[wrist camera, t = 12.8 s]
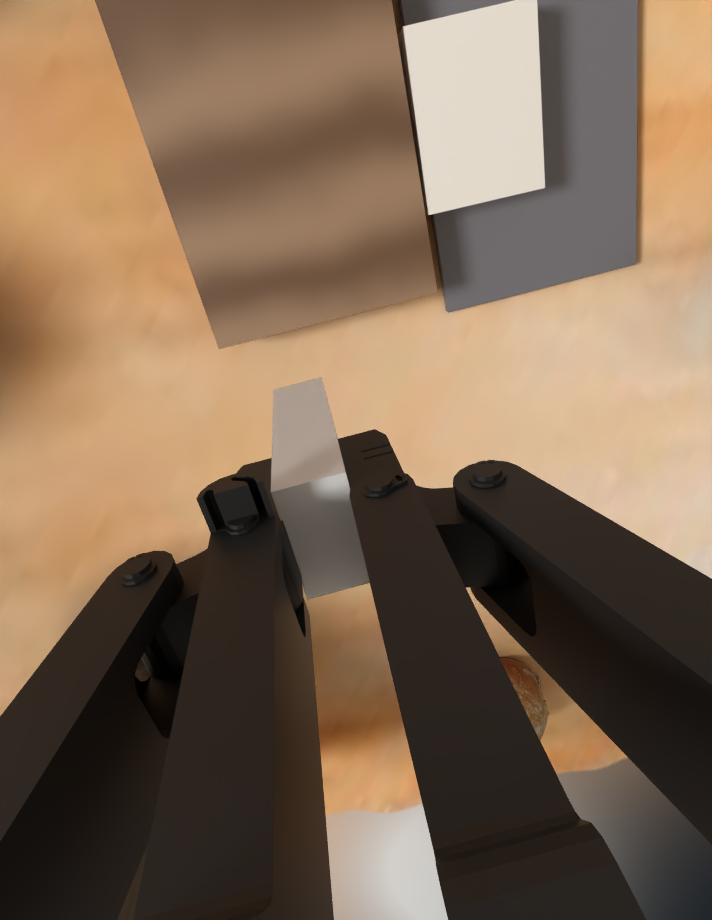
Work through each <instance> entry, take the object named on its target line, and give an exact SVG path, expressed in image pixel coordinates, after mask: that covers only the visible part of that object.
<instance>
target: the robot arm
mask: <svg viewBox="0 0 712 920" xmlns="http://www.w3.org/2000/svg"><path fill="white" fill-rule="evenodd" d="M196 499H197V501H198V503H199V506H200V508H201V511H202V513H203V515H204V518H205V520H206V523H207V525H208V527H209V530H210V532H211V535H210V540H209V545H208V549H206V550H205V551H203V552H201V553H199V554H197V555H196V556H194V557H191V558H189V559H187V560H185V561H183V562H180V563H178V564H176V563H175V561H174V558H173V556H172V554H170V553H168V552H166V551H152V552H148V553H142V554H139V555H136V557H132V558H130V559H128V560H127V561H126V562H125V563H123V564H122V565H120V566H119V567H117V568H116V569H115V570H114V571H113V572H112V573H111V574H110V575H109V576H108V577H107V578H106V580H105V581H104V582H103V584H102V585H101V586H100V588H99V589H98V590H97V591H96V593H95V594H94V595H93V597H92V598H91V599H90V601H89V602H88V603H87V605H86V606H85V607H84V608H83V610H82V611H81V612H80V614H79V615H78V616H77V618H76V619H75V620H74V621H73V623H72V624H71V625H70V627H69V628H68V629H67V631H66V632H65V633H64V634H63V636H62V637H61V638H60V640H59V641H58V642H57V644H56V645H55V646H54V647H53V649H52V650H51V651H50V653H49V654H48V655H47V657H46V658H45V659H44V660H43V662H42V663H41V664H40V666H39V667H38V668H37V670H36V671H35V672H34V674H33V675H32V676H31V677H30V679H29V680H28V681H27V683H26V684H25V685H24V687H23V688H22V689H21V690H20V692H19V693H18V694H17V696H16V697H15V698H14V700H13V701H12V702H11V703H10V705H9V706H8V707H7V709H6V710H5V711H4V713H3V714H2V715H1V716H0V920H334V917H333V904H332V892H331V879H330V867H329V854H328V842H327V831H326V830H327V829H326V817H325V804H324V792H323V779H322V767H321V754H320V742H319V729H318V717H317V704H316V692H315V679H314V667H313V654H312V642H311V629H310V617H309V612H308V610H307V607H306V604H305V601H304V598H303V589H302V585H303V588H304V590H305V593H306V596H307V599H311V598H315V597H318V596H322V595H326V594H329V593H333V592H337V591H341V590H344V589H348V588H352V587H355V586H359V585H363V584H367V583H370V585H371V589H372V594H373V598H374V602H375V606H376V610H377V615H378V619H379V623H380V627H381V631H382V635H383V640H384V644H385V648H386V652H387V656H388V661H389V665H390V669H391V673H392V677H393V682H394V686H395V690H396V694H397V698H398V703H399V707H400V711H401V715H402V719H403V723H404V728H405V732H406V736H407V740H408V744H409V749H410V753H411V757H412V761H413V765H414V770H415V774H416V778H417V782H418V786H419V791H420V795H421V799H422V803H423V807H424V811H425V816H426V820H427V823H428V828H429V832H430V837H431V841H432V845H433V849H434V854H435V859H436V867H437V872H438V877H439V881H440V886H441V890H442V895H443V899H444V903H445V907H446V912H447V916H448V920H646V919H645V917H644V915H643V913H642V911H641V909H640V907H639V905H638V903H637V901H636V899H635V897H634V895H633V893H632V891H631V889H630V887H629V885H628V883H627V881H626V880H625V877H624V875H623V874H622V872H621V870H620V868H619V866H618V864H617V862H616V860H615V859H614V857H613V855H612V853H611V851H610V850H609V848H608V846H607V844H606V843H605V841H604V839H603V837H602V836H601V835H600V834H599V832H598V831H597V829H596V828H595V827H594V826H593V824H592V823H591V822H588V821H585V820H582V819H580V817H579V816H578V815H577V813H576V812H575V811H574V809H573V807H572V805H571V803H570V801H569V799H568V798H567V795H566V793H565V791H564V790H563V787H562V785H561V783H560V781H559V779H558V777H557V775H556V773H555V771H554V769H553V767H552V764H551V762H550V760H549V758H548V756H547V754H546V752H545V750H544V748H543V746H542V744H541V742H540V740H539V738H538V736H537V734H536V732H535V729H534V727H533V725H532V723H531V721H530V719H529V717H528V715H527V713H526V711H525V709H524V707H523V705H522V703H521V701H520V699H519V697H518V695H517V692H516V690H515V688H514V686H513V684H512V682H511V680H510V678H509V676H508V674H507V672H506V670H505V668H504V666H503V664H502V662H501V660H500V657H499V655H498V653H497V651H496V649H495V647H494V645H493V643H492V641H491V639H490V637H489V635H488V633H487V631H486V629H485V627H484V625H483V623H482V620H481V618H480V616H479V614H478V612H477V610H476V608H475V606H474V604H473V602H472V600H471V598H470V596H469V594H468V592H467V590H466V588H465V587H471V591H472V593H473V595H474V596H475V598H476V599H477V600H478V601H479V602H480V603H481V604H482V605H483V606H484V607H485V608H486V609H487V611H488V612H489V613H490V614H491V615H492V616H493V617H494V618H495V619H496V620H497V621H498V622H499V623H500V624H501V625H502V626H503V627H504V628H505V629H506V630H507V631H508V632H509V633H510V635H511V636H512V637H513V638H514V639H515V640H516V641H517V642H518V643H519V644H520V645H521V646H522V647H523V648H524V649H525V650H526V651H527V652H528V653H529V654H530V655H531V656H532V657H533V659H534V660H535V661H536V662H537V663H538V664H539V665H540V666H541V667H542V668H543V669H544V670H545V671H546V672H547V673H548V674H549V675H550V676H551V677H552V678H553V679H554V680H555V681H556V683H557V684H558V685H559V686H560V687H561V688H562V689H563V690H564V691H565V692H566V693H567V694H568V695H569V696H570V697H571V698H572V699H573V700H574V701H575V702H576V703H577V704H578V705H579V707H580V708H581V709H582V710H583V711H584V712H585V713H586V714H587V715H588V716H589V717H590V718H591V719H592V720H593V721H594V722H595V723H596V724H597V725H598V726H599V727H600V728H601V729H602V731H603V732H604V733H605V734H606V735H607V736H608V737H609V738H610V739H611V740H612V741H613V742H614V743H615V744H616V745H617V746H618V747H619V748H620V749H621V750H622V751H623V752H624V753H625V755H626V756H627V757H628V758H629V759H630V760H631V761H632V762H633V763H634V764H635V765H636V766H637V767H638V768H639V769H640V770H641V771H642V772H643V773H644V774H645V775H646V776H647V777H648V778H649V780H650V781H651V782H652V783H653V784H654V785H655V786H656V787H657V788H658V789H659V790H660V791H661V792H662V793H663V794H664V795H665V796H666V797H667V798H668V799H669V800H670V802H671V803H672V804H673V805H674V806H675V807H676V808H677V809H678V810H679V811H680V812H681V813H682V814H683V815H684V816H685V817H686V818H687V819H688V820H689V821H690V822H691V823H692V824H693V826H694V827H696V829H698V831H699V832H700V833H701V834H702V835H703V836H704V837H705V838H706V839H707V840H708V841H709V842H710V843H711V844H712V579H711V578H709V577H708V576H706V575H704V574H702V573H701V572H699V571H697V570H696V569H694V568H692V567H690V566H689V565H687V564H685V563H684V562H682V561H680V560H678V559H677V558H675V557H673V556H672V555H670V554H668V553H666V552H665V551H663V550H661V549H660V548H658V547H656V546H654V545H653V544H651V543H649V542H648V541H646V540H644V539H642V538H641V537H639V536H637V535H636V534H634V533H632V532H630V531H629V530H627V529H625V528H624V527H622V526H620V525H618V524H617V523H615V522H613V521H612V520H610V519H608V518H606V517H605V516H603V515H601V514H600V513H598V512H596V511H594V510H593V509H591V508H589V507H587V506H586V505H584V504H582V503H581V502H579V501H577V500H575V499H574V498H572V497H570V496H569V495H567V494H565V493H563V492H562V491H560V490H558V489H557V488H555V487H553V486H551V485H550V484H548V483H546V482H545V481H543V480H541V479H539V478H538V477H536V476H534V475H533V474H531V473H529V472H527V471H526V470H524V469H522V468H521V467H519V466H517V465H514V464H512V463H509V462H504V461H495V460H487V461H480V462H478V463H475V464H472V465H469V466H467V467H465V468H463V469H461V470H460V471H459V472H458V473H457V474H456V475H455V476H454V479H453V488H438V489H430V488H422V487H419V486H416V485H415V483H414V481H413V479H412V478H411V477H410V476H409V475H408V474H405V473H404V472H403V470H402V468H401V466H400V463H399V461H398V459H397V457H396V455H395V453H394V451H393V449H392V447H391V445H390V442H389V440H388V438H387V436H386V435H385V434H383V433H381V432H379V431H377V430H375V429H374V430H370V431H367V432H363V433H359V434H355V435H351V436H348V437H344V438H340V439H338V437H337V433H336V430H335V426H334V422H333V418H332V415H331V411H330V407H329V403H328V400H327V396H326V392H325V388H324V385H323V381H322V377H321V378H317V379H313V380H309V381H305V382H301V383H298V384H294V385H290V386H286V387H282V388H279V389H275V390H273V427H272V458H270V459H266V460H262V461H259V462H255V463H251V464H247V465H244V466H242V467H241V468H240V470H239V471H238V472H237V473H236V474H233V475H230V476H227V477H224V478H221V479H219V480H217V481H215V482H213V483H211V484H210V485H208V486H207V487H206V488H205V489H203V490H202V491H201V492H200V494H199V495H198V497H197V498H196Z"/></svg>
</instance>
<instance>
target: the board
mask: <svg viewBox="0 0 712 920" xmlns="http://www.w3.org/2000/svg"><path fill="white" fill-rule="evenodd" d="M95 2H96V4H97V7H98V10H99V13H100V16H101V19H102V21H103V24H104V27H105V30H106V33H107V35H108V38H109V41H110V44H111V47H112V49H113V52H114V55H115V58H116V61H117V64H118V66H119V69H120V72H121V75H122V78H123V80H124V83H125V86H126V89H127V92H128V95H129V97H130V100H131V103H132V106H133V109H134V111H135V114H136V117H137V120H138V123H139V125H140V128H141V131H142V134H143V137H144V140H145V142H146V145H147V148H148V151H149V154H150V156H151V159H152V162H153V165H154V168H155V170H156V173H157V176H158V179H159V182H160V185H161V187H162V190H163V193H164V196H165V199H166V201H167V204H168V207H169V210H170V213H171V216H172V218H173V221H174V224H175V227H176V230H177V232H178V235H179V238H180V241H181V244H182V246H183V249H184V252H185V255H186V258H187V261H188V263H189V266H190V269H191V272H192V275H193V277H194V280H195V283H196V286H197V289H198V292H199V294H200V297H201V300H202V303H203V306H204V308H205V311H206V314H207V317H208V320H209V322H210V325H211V328H212V331H213V334H214V337H215V339H216V342H217V345H218V348H219V349H222V348H225V347H229V346H233V345H237V344H241V343H245V342H249V341H253V340H256V339H260V338H264V337H268V336H272V335H276V334H280V333H283V332H287V331H291V330H295V329H299V328H303V327H307V326H310V325H314V324H318V323H322V322H326V321H330V320H334V319H338V318H341V317H345V316H349V315H353V314H357V313H361V312H365V311H368V310H372V309H376V308H380V307H384V306H388V305H392V304H395V303H399V302H403V301H407V300H411V299H415V298H419V297H423V296H426V295H430V294H434V293H438V291H437V285H436V279H435V272H434V266H433V260H432V253H431V247H430V240H429V234H428V228H427V221H426V215H425V209H424V202H423V196H422V190H421V183H420V177H419V171H418V164H417V158H416V152H415V145H414V139H413V132H412V126H411V120H410V113H409V107H408V101H407V94H406V88H405V82H404V75H403V69H402V63H401V56H400V50H399V44H398V37H397V31H396V25H395V18H394V12H393V5H392V0H95Z"/></svg>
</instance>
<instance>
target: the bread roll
mask: <svg viewBox="0 0 712 920" xmlns="http://www.w3.org/2000/svg"><path fill="white" fill-rule="evenodd" d="M500 660H501V662H502V664H503V666H504V668H505V670H506V672H507V674H508V676H509V678H510V680H511V682H512V684H513V686H514V688H515V690H516V692H517V695H518V697H519V699H520V701H521V703H522V705H523V707H524V709H525V711H526V713H527V715H528V717H529V719H530V721H531V723H532V725H533V727H534V729H535V732H536V734H537V736H538V738H539V740H541V738H542V736H543V733H544V730H545V727H546V724H547V716H548V714H549V712H548V710H547V707H546V704H545V700H543V693H542V691H541V687H540V686H541V681H540V678H539V677H536V676H535V675H534V673H533V672H532V671H531V669H530V668H529V667H527V666H525V665H524V664H522V663H521V662H520V661H517V660H514V659H510V658H500Z"/></svg>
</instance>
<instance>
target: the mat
mask: <svg viewBox="0 0 712 920" xmlns="http://www.w3.org/2000/svg"><path fill="white" fill-rule="evenodd" d="M510 1H514V0H399V6H400V12H401V19H402V26H407V25H411V24H416V23H420V22H424V21H428V20H433V19H437V18H441V17H445V16H450V15H454V14H458V13H463V12H467V11H471V10H475V9H480V8H484V7H488V6H492V5H497V4H501V3H505V2H510ZM537 8H538V32H539V56H540V79H541V103H542V126H543V150H544V174H545V188H543V189H538V190H534V191H530V192H526V193H521V194H517V195H513V196H508V197H504V198H500V199H496V200H491V201H487V202H483V203H479V204H474V205H470V206H466V207H462V208H457V209H453V210H449V211H444V212H440V213H436V214H432V222H433V228H434V235H435V241H436V248H437V255H438V261H439V268H440V274H441V281H442V287H443V294H444V300H445V307H446V311H447V312H448V313H449V312H452V311H456V310H460V309H464V308H468V307H472V306H476V305H480V304H483V303H487V302H491V301H495V300H499V299H503V298H507V297H510V296H514V295H518V294H522V293H526V292H530V291H534V290H538V289H541V288H545V287H549V286H553V285H557V284H561V283H565V282H569V281H572V280H576V279H580V278H584V277H588V276H592V275H596V274H599V273H603V272H607V271H611V270H615V269H619V268H623V267H627V266H630V265H634V264H636V208H637V61H638V0H537Z"/></svg>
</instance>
